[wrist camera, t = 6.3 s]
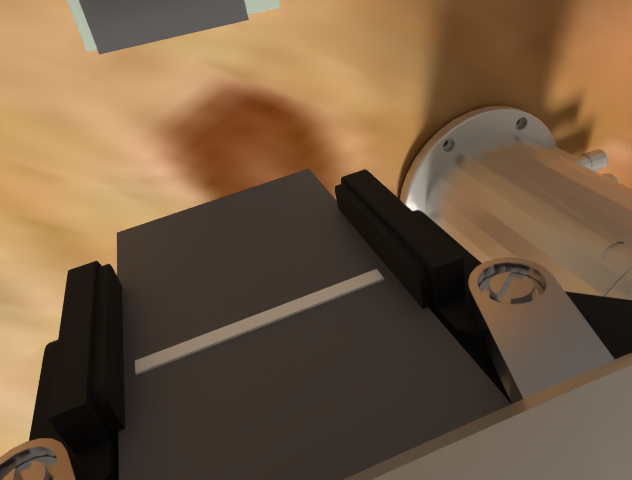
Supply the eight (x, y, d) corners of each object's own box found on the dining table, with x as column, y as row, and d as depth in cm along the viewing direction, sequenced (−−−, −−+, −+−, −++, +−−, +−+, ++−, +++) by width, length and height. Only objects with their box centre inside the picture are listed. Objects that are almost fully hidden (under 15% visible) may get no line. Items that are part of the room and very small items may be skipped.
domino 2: (116, 231, 12) (117, 799, 4) (308, 166, 13) (625, 532, 5) (142, 284, 13) (187, 834, 5) (320, 221, 14) (604, 605, 6)
